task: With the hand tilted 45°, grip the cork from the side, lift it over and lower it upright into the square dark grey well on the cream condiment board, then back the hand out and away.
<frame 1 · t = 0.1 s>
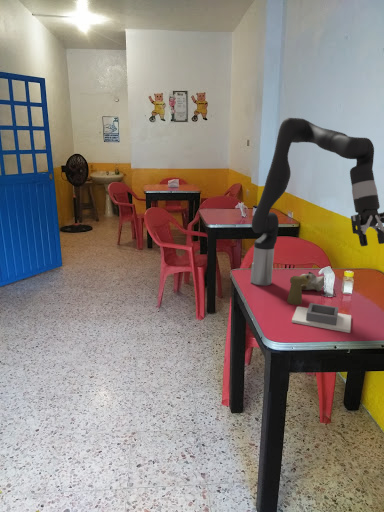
hand: (373, 244, 130), 31 cm above the table, fingers open, 8 cm apart
cork: (294, 302, 164), on the table
condiment board: (321, 320, 147), on the table
ceramic sculpture: (307, 290, 179), on the table
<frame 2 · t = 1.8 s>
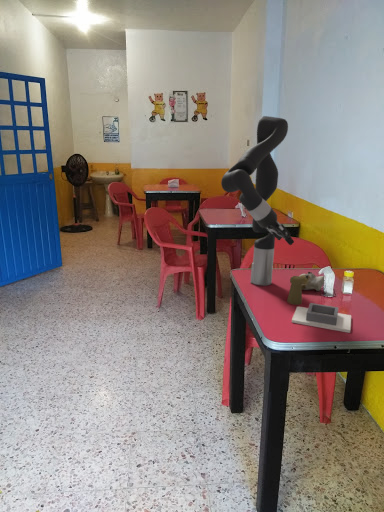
hand: (286, 240, 154), 26 cm above the table, fingers open, 8 cm apart
nothing on the table moved.
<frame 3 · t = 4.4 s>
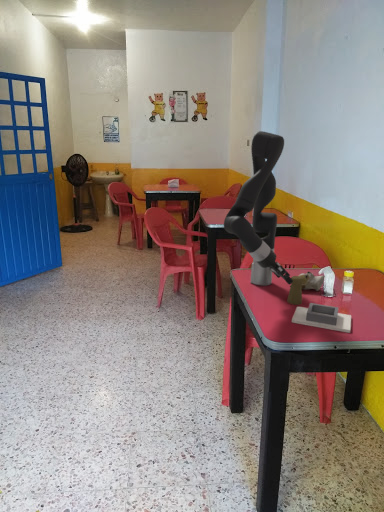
hand: (285, 279, 160), 10 cm above the table, fingers open, 8 cm apart
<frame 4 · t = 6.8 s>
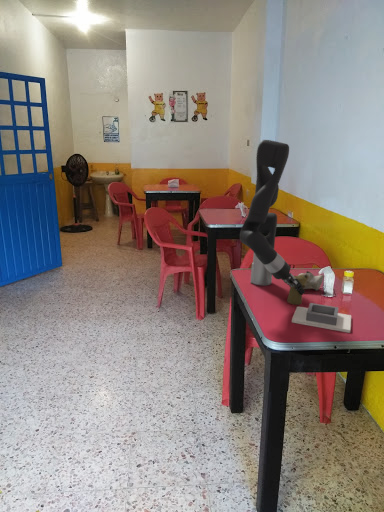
hand: (299, 291, 163), 5 cm above the table, fingers closed on cork, 4 cm apart
cork: (294, 302, 164), on the table, touching gripper
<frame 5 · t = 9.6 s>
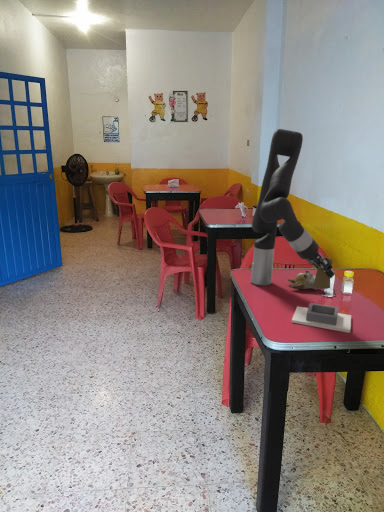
hand: (327, 273, 144), 17 cm above the table, fingers closed on cork, 4 cm apart
cork: (321, 286, 145), point 13 cm above the table, touching gripper
when the fingers open (7 cm above the table, at t = 12.6 s): cork drops 1 cm, resting on condiment board.
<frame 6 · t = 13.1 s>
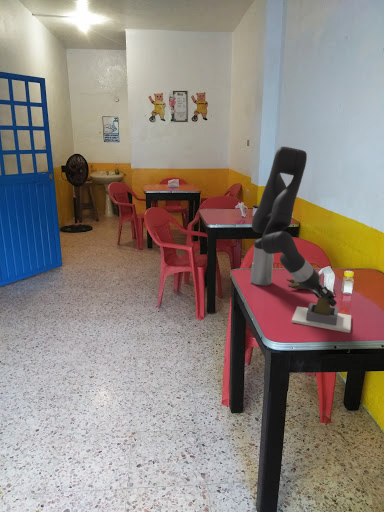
hand: (327, 300, 145), 8 cm above the table, fingers open, 8 cm apart
cork: (320, 317, 146), point 1 cm above the table, touching condiment board
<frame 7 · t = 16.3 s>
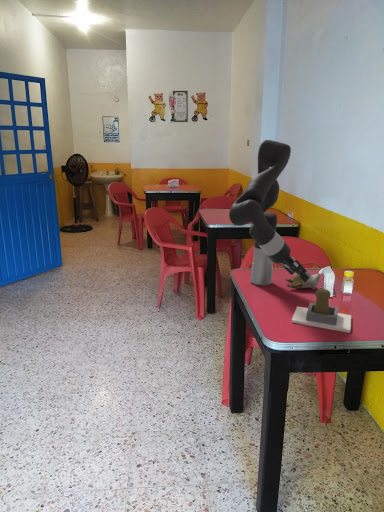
hand: (299, 276, 139), 18 cm above the table, fingers open, 8 cm apart
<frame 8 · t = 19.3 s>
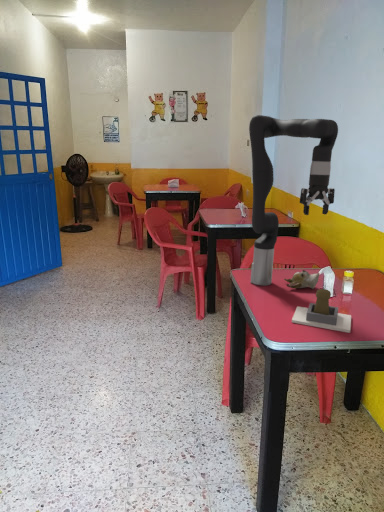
hand: (315, 214, 158), 36 cm above the table, fingers open, 8 cm apart
at the end: cork 0.9 cm off-centre on the condiment board, point 0.8 cm above the condiment board's base; cork tilted 0°; the gripper is holding nothing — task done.
